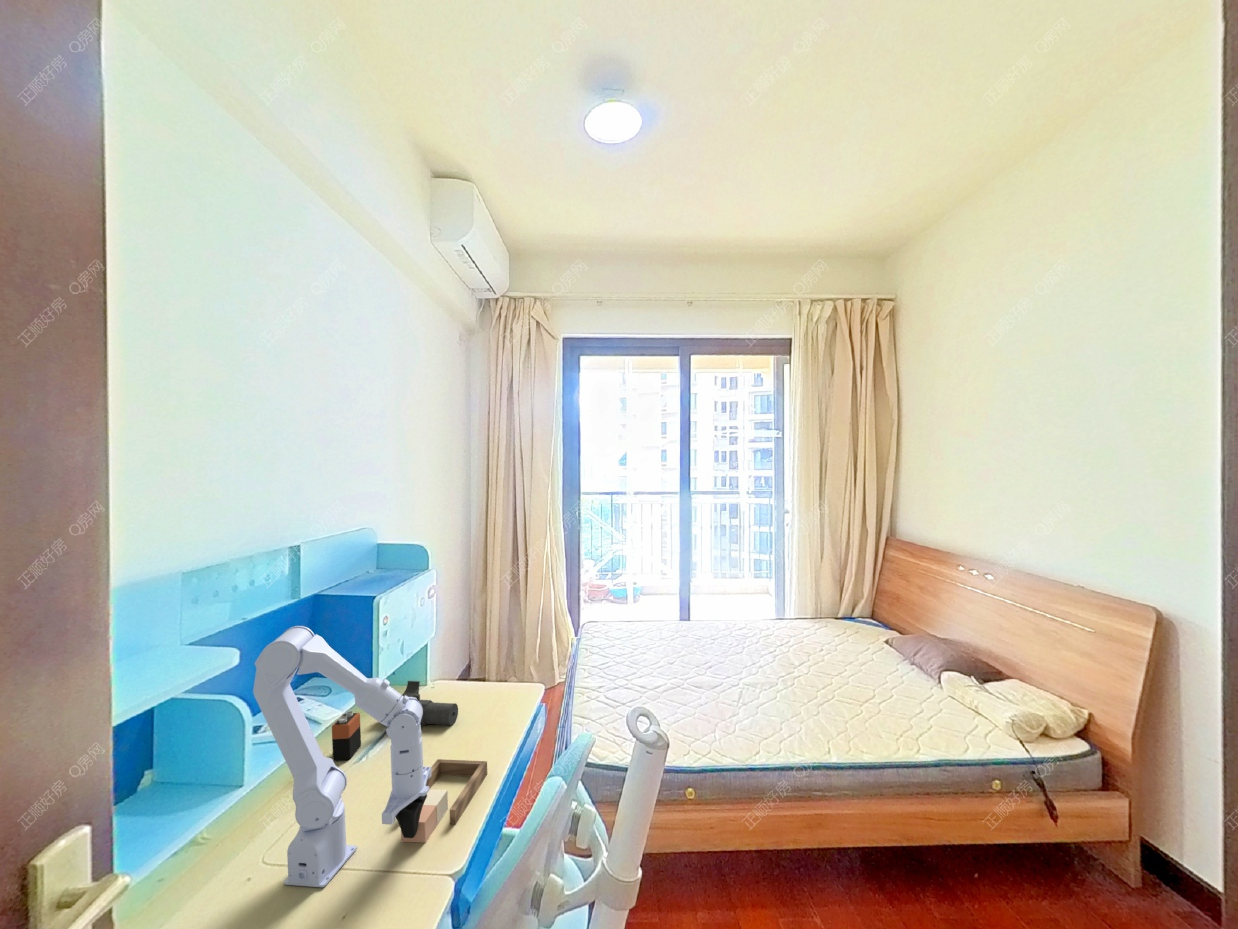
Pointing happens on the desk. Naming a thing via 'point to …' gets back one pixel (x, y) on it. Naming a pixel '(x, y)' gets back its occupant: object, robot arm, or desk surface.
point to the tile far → (438, 801)
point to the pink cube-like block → (424, 824)
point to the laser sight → (432, 707)
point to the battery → (346, 736)
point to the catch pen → (460, 769)
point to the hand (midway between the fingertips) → (410, 835)
